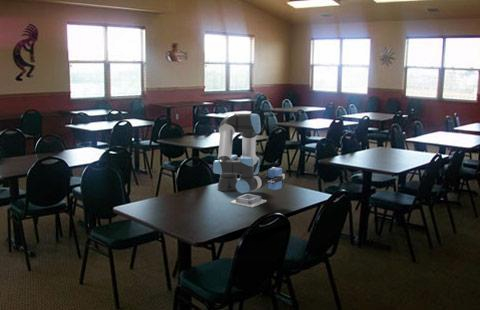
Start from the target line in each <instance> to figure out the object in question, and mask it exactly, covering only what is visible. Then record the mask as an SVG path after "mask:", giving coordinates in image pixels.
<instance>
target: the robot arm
mask: <svg viewBox="0 0 480 310" xmlns="http://www.w3.org/2000/svg"><path fill="white" fill-rule="evenodd" d="M261 129H262V127H261V117H260V115H259V114H258V113H230V114H228V115H227V116H225V117H224V118H223V120H221V121H220V124H219V127H218V132H219V143H218V144H219V145H218V154H217V160H216V159H215V160H213V163H212V164H213V167H212V169H213V173H214V174H217V175H219V180H218V184H217V190H218V191H220V192H225V193H231V192H238V193H240V194H246V193H249V192H251V191H255V190H258V189H261V188H264V187H266V185H268V183H272V184H274V183H277V182H280V181H282V182H283V180H284V179H285V177H286V175H285V174H286V173H282V175H278V176H276V177H268V172H267V174H266V173H264V174H259V171H260V165H261V164H260V163H261V160H260V157H258V156H257V154H256V151H257V150H256V149H257V148H256V147H257V145H256V144H257V136H258V135H259V134H260V133H261V132H262V130H261ZM235 133H237V134H238V133H239V134H240V136H241V138H242V139H241V141H242V143H241V144H242V145H241V146H242V148H241V149H242V155H240V157H238V155H237V154H233V141H234V140H233V138H234V134H235ZM238 175H239V180H238Z"/></svg>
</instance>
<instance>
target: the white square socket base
mask: <svg viewBox="0 0 480 310" xmlns="http://www.w3.org/2000/svg"><path fill="white" fill-rule="evenodd" d="M264 203H267V199H263V198H262V196H261V195H257V194H251V193H244V194H242V195H240V196H237V197H235V199H233V200H231V201H230V204H233V205H237V206H243V207H248V208H255V207H257V206H259V205H261V204H264Z"/></svg>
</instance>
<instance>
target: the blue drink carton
mask: <svg viewBox="0 0 480 310" xmlns="http://www.w3.org/2000/svg"><path fill="white" fill-rule="evenodd" d="M267 173H268V177H276V176H278V175H282V174H283V168H282V167H275V166H273V167H271V168H268V172H267ZM282 184H283V180H282V181H280V182H277V183H274V184H272V183H268V184H267V186H268V187H267V189H268V190H272V191H276V190H280V189H283V187H282V186H283V185H282Z"/></svg>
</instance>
